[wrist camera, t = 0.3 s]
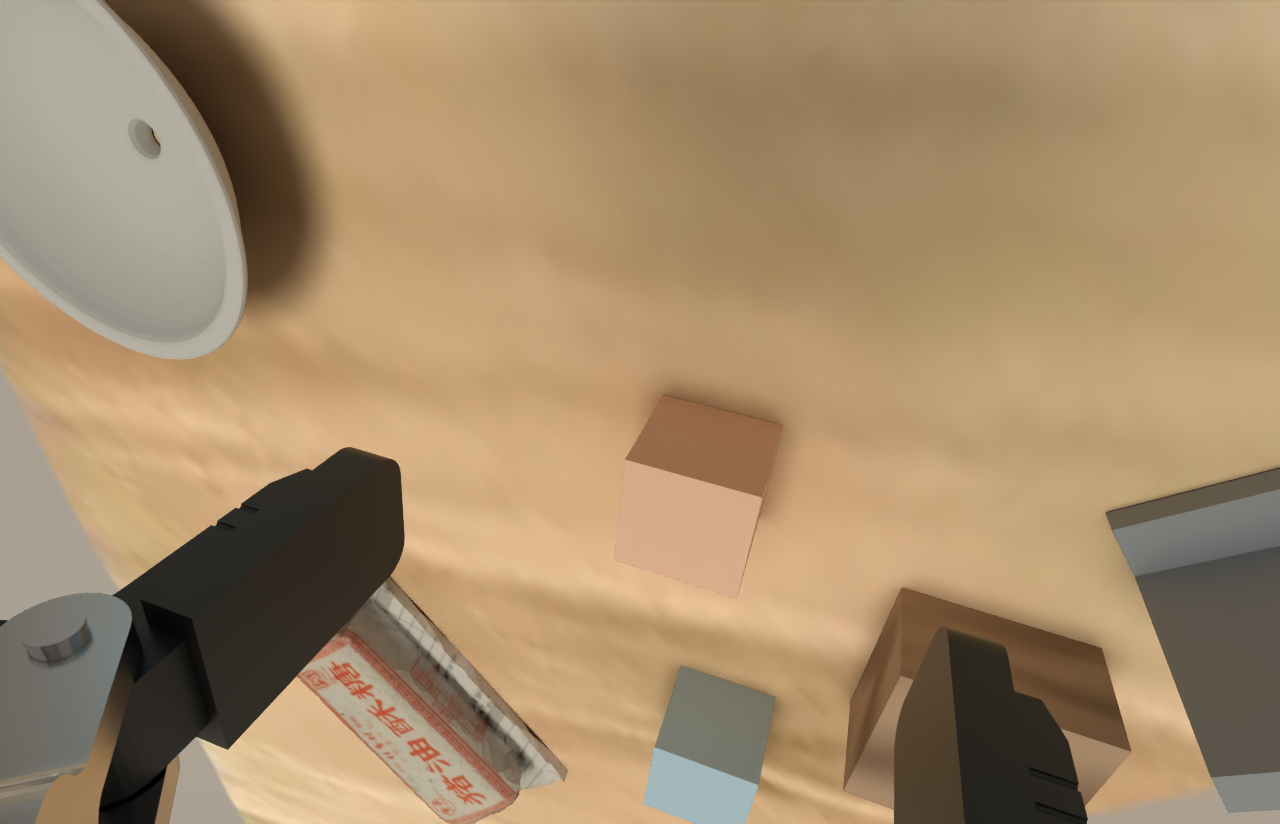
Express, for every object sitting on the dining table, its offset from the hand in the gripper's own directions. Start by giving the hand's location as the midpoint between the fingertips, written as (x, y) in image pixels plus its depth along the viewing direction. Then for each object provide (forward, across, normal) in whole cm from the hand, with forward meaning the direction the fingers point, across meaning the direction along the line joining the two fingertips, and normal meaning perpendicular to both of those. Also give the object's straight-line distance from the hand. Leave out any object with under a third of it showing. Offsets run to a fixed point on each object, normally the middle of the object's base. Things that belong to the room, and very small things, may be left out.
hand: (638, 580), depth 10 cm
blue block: (+19, -2, +25) cm, 32 cm away
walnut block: (+19, -12, +17) cm, 28 cm away
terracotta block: (+18, +1, +9) cm, 20 cm away
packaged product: (+20, +16, +33) cm, 42 cm away
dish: (+18, +27, 0) cm, 33 cm away
